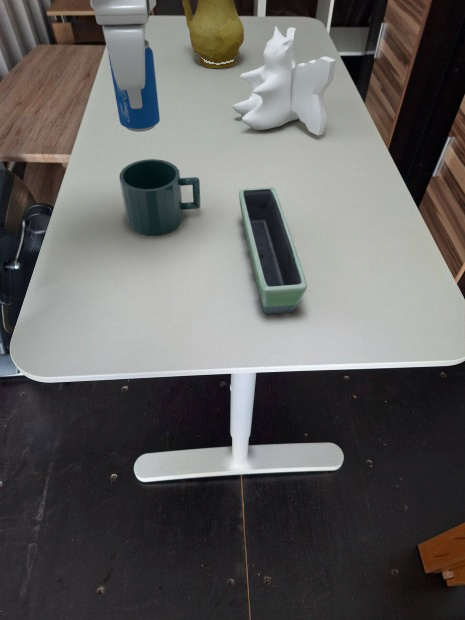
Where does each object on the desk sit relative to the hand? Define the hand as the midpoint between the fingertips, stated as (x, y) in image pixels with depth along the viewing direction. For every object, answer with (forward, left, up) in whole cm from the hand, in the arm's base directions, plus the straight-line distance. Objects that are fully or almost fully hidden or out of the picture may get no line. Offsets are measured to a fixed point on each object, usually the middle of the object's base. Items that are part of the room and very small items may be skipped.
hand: (136, 96), depth 70 cm
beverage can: (0, 0, -5) cm, 5 cm away
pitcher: (+23, +87, -25) cm, 93 cm away
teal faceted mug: (+2, +2, -25) cm, 25 cm away
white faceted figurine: (+33, +41, -25) cm, 59 cm away
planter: (+20, -14, -25) cm, 35 cm away
